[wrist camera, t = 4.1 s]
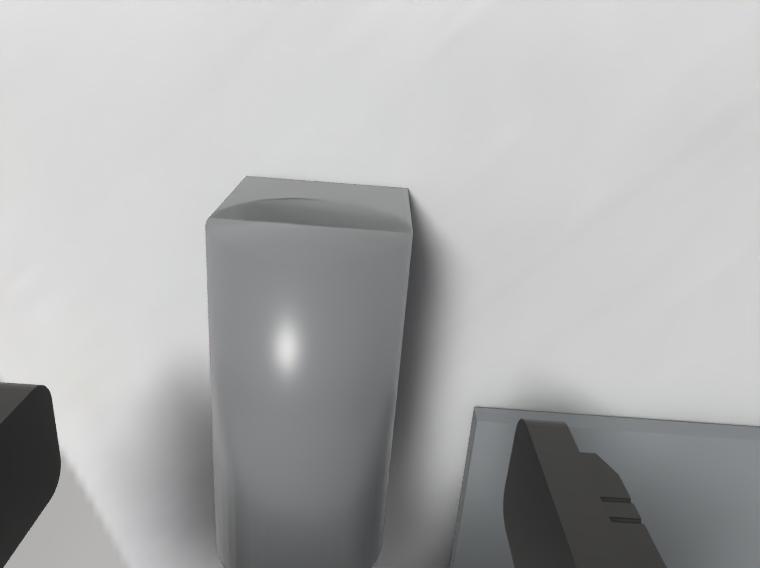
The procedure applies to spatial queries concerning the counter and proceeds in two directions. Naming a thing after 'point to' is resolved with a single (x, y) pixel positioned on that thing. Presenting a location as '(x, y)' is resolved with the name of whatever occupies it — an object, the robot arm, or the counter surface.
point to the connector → (305, 368)
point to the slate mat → (629, 485)
